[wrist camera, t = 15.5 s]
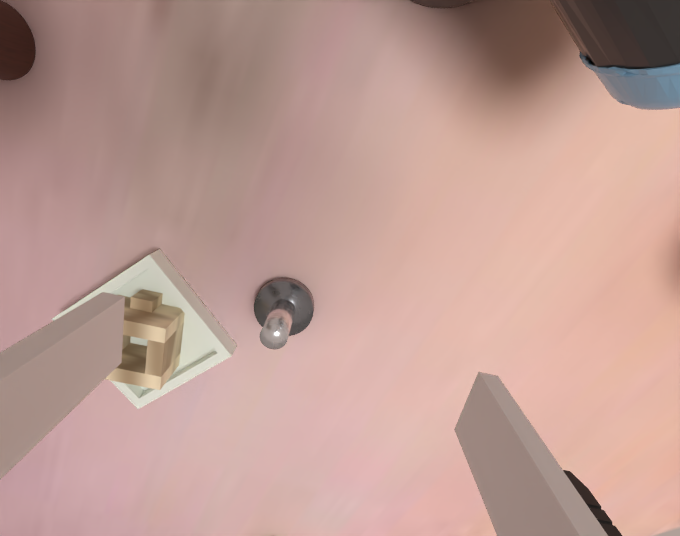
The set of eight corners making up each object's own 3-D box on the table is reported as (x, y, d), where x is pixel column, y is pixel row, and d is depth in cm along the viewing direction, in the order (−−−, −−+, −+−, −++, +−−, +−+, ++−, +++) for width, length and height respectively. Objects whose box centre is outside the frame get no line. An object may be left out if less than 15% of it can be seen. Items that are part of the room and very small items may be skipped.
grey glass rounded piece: (245, 295, 43) (224, 326, 36) (293, 267, 42) (282, 292, 35) (278, 339, 45) (265, 377, 38) (324, 313, 44) (321, 347, 36)
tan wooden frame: (115, 352, 45) (88, 375, 40) (118, 283, 42) (89, 300, 37) (179, 365, 45) (160, 390, 41) (186, 298, 42) (166, 317, 38)
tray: (66, 310, 44) (51, 319, 42) (159, 248, 42) (149, 254, 39) (147, 397, 48) (138, 409, 46) (237, 345, 46) (231, 356, 43)
